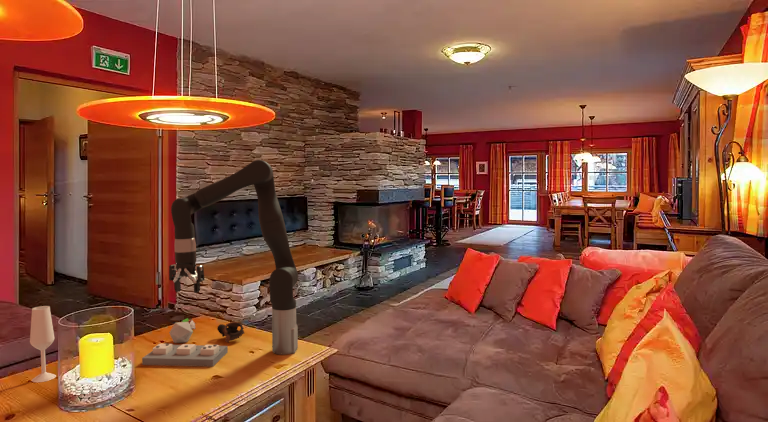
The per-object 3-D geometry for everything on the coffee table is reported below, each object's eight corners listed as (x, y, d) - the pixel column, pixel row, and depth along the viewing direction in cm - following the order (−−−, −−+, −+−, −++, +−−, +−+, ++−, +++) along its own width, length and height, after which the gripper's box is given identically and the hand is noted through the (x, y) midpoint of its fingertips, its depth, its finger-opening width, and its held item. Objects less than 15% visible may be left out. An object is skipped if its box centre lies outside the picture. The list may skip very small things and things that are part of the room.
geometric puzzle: (172, 330, 204) (181, 316, 203) (182, 325, 211) (191, 312, 210) (183, 341, 204) (193, 327, 202) (193, 335, 210) (202, 322, 209)
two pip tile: (172, 351, 181) (172, 343, 181) (166, 356, 176) (165, 347, 176) (159, 351, 181) (159, 342, 181) (152, 356, 176) (152, 347, 176)
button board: (227, 352, 185) (227, 345, 185) (213, 366, 171) (213, 359, 171) (162, 350, 186) (161, 344, 186) (142, 364, 172) (142, 358, 172)
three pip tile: (219, 352, 180) (219, 344, 180) (213, 357, 175) (213, 348, 175) (206, 352, 180) (206, 343, 180) (200, 357, 175) (200, 348, 175)
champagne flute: (61, 374, 163) (58, 305, 161) (43, 383, 156) (40, 311, 155) (44, 373, 164) (41, 304, 162) (26, 381, 157) (23, 310, 156)
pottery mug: (247, 336, 205) (248, 322, 201) (237, 352, 197) (238, 339, 193) (221, 328, 206) (221, 314, 202) (210, 344, 198) (210, 330, 194)
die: (181, 348, 191) (195, 326, 194) (162, 337, 191) (177, 315, 194) (185, 348, 199) (199, 327, 202) (167, 338, 199) (181, 317, 202)
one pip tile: (195, 352, 181) (195, 343, 180) (189, 357, 176) (189, 348, 175) (182, 351, 181) (182, 343, 181) (176, 356, 176) (176, 348, 176)
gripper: (207, 249, 183) (209, 290, 184) (176, 248, 187) (178, 289, 188) (194, 252, 176) (196, 295, 177) (162, 251, 180) (164, 293, 181)
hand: (187, 292), depth 183 cm, fingers open, 8 cm apart
